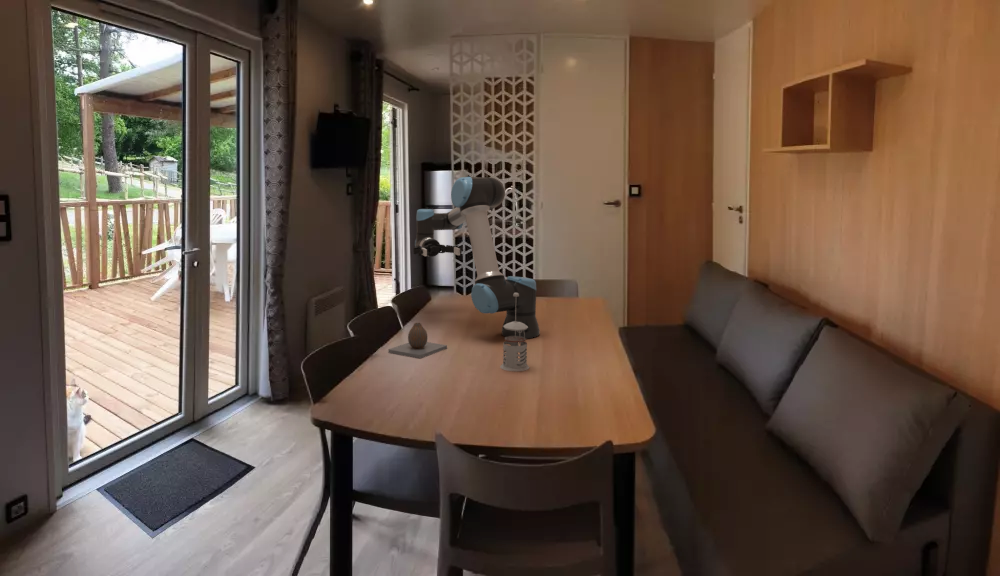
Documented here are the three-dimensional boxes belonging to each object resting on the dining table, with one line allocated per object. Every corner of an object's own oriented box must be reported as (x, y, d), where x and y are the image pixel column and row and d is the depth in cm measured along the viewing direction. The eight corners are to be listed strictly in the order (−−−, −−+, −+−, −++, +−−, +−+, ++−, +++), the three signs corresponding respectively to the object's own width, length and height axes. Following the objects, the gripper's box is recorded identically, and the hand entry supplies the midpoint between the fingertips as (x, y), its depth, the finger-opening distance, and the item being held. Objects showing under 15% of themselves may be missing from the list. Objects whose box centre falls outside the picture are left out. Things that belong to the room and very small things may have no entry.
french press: (495, 369, 210) (496, 293, 206) (508, 360, 221) (509, 288, 217) (523, 372, 207) (525, 296, 203) (535, 363, 217) (537, 290, 213)
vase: (423, 350, 227) (423, 326, 226) (405, 348, 229) (405, 324, 227) (430, 345, 234) (429, 321, 233) (412, 344, 235) (411, 320, 234)
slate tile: (446, 348, 235) (446, 345, 235) (420, 358, 221) (420, 355, 221) (416, 343, 242) (416, 340, 242) (388, 352, 228) (388, 349, 228)
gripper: (458, 255, 281) (472, 260, 262) (401, 256, 273) (411, 262, 253) (458, 237, 280) (472, 242, 260) (401, 238, 272) (411, 243, 252)
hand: (442, 252), depth 257 cm, fingers open, 13 cm apart
